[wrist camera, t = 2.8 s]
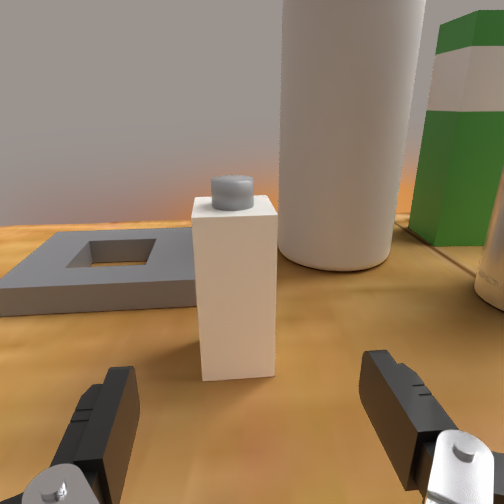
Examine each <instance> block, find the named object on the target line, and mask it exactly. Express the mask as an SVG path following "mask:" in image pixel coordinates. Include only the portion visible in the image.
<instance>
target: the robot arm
mask: <svg viewBox="0 0 504 504" xmlns="http://www.w3.org/2000/svg"><path fill="white" fill-rule="evenodd" d="M474 288H475V291H476V292H477V294H478V295H479V296H480V297H481V298H482V299H484V300H485V301H486V302H488V303H489V304H491V305H493V306H494V307H496V308H498V309H500V310H502V311H504V164H503V168H502V172H501V177H500V181H499V185H498V189H497V193H496V197H495V201H494V206H493V210H492V214H491V218H490V222H489V226H488V230H487V235H486V239H485V243H484V247H483V251H482V255H481V259H480V263H479V267H478V272H477V276H476V280H475V284H474ZM359 394H360V399H361V402H362V405H363V407H364V409H365V411H366V413H367V415H368V417H369V419H370V421H371V423H372V425H373V427H374V429H375V431H376V433H377V435H378V437H379V439H380V441H381V443H382V445H383V447H384V449H385V451H386V453H387V455H388V457H389V459H390V461H391V463H392V465H393V467H394V469H395V471H396V473H397V475H398V477H399V479H400V481H401V483H402V485H403V487H404V489H405V491H411V490H419V491H420V493H421V495H422V497H423V500H422V504H504V454H501V453H496V452H492V451H490V450H489V448H488V447H487V446H486V445H485V444H484V443H483V442H482V441H481V440H479V439H478V438H477V437H475V436H473V435H471V434H469V433H467V432H464V431H460V430H459V429H458V428H457V427H456V425H455V424H454V423H453V421H452V420H451V419H450V417H449V416H448V415H447V413H446V412H445V411H444V409H443V408H442V407H441V405H440V404H439V403H438V401H437V400H436V399H435V397H434V396H432V393H431V392H430V391H429V389H428V388H427V387H426V386H425V384H424V383H423V381H422V380H421V379H420V377H419V376H418V375H417V373H416V372H414V371H413V370H411V369H410V368H409V367H407V366H406V365H405V364H403V363H401V364H397V363H396V362H395V360H394V359H393V358H392V356H391V355H390V353H389V352H388V351H387V350H374V351H365V352H364V353H363V357H362V365H361V372H360V380H359ZM139 414H140V402H139V395H138V388H137V382H136V375H135V369H134V367H133V366H125V367H111V368H109V370H108V372H107V375H106V378H105V380H104V383H103V384H93V385H92V386H91V387H90V388H89V389H88V390H87V391H86V392H85V393H84V394H83V395H82V396H81V398H80V400H79V402H78V405H77V407H76V409H75V412H74V414H73V416H72V418H71V420H70V424H69V425H68V427H67V429H66V432H65V434H64V436H63V438H62V440H61V443H60V445H59V447H58V449H57V452H56V454H55V456H54V458H53V461H52V463H51V465H50V467H49V468H48V469H46V470H44V471H43V472H41V473H40V474H38V475H37V476H36V477H35V478H34V479H33V480H32V481H31V482H30V483H29V485H28V486H27V488H26V489H25V491H24V492H23V493H21V494H19V495H17V496H14V497H12V498H9V499H6V500H4V501H1V502H0V504H119V503H120V499H121V494H122V490H123V486H124V482H125V477H126V473H127V469H128V464H129V460H130V456H131V451H132V447H133V443H134V439H135V434H136V430H137V426H138V421H139Z"/></svg>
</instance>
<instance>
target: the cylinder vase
mask: <svg viewBox="0 0 504 504" xmlns="http://www.w3.org/2000/svg"><path fill="white" fill-rule="evenodd" d="M425 2H426V0H283V12H282V13H283V14H282V15H283V16H282V59H281V61H282V63H281V106H280V107H281V108H280V152H279V153H280V154H279V200H278V248H279V250H280V251H281V253H282V254H283V255H284V256H285V257H287V258H288V259H290V260H291V261H293V262H295V263H298V264H300V265H303V266H306V267H310V268H315V269H320V270H328V271H356V270H363V269H368V268H371V267H374V266H376V265H379V264H380V263H382V262H383V261H384V260H386V258H387V257H388V256H389V253H390V249H391V242H392V235H393V228H394V221H395V214H396V206H397V199H398V192H399V185H400V178H401V171H402V164H403V157H404V150H405V143H406V135H407V129H408V122H409V115H410V107H411V100H412V94H413V87H414V80H415V73H416V65H417V59H418V52H419V44H420V38H421V31H422V23H423V17H424V9H425Z"/></svg>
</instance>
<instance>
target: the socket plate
mask: <svg viewBox="0 0 504 504" xmlns="http://www.w3.org/2000/svg"><path fill="white" fill-rule="evenodd" d="M147 260H148V261H147ZM123 261H147V263H146V265H128V266H105V267H90V266H91V265H92V263H99V262H123ZM190 306H197V295H196V280H195V266H194V251H193V237H192V227H184V228H155V229H127V230H98V231H69V232H57V233H55V234H54V235H53V236H52V237H51V238H49V239H48V240H47V241H46V242H45V243H43V244H42V245H41V246H40V247H39V248H37V249H36V250H35V251H34V252H33V253H31V254H30V255H29V256H28V257H26V258H25V259H24V260H23V261H22V262H20V263H19V264H18V265H17V266H16V267H14V268H13V269H12V270H11V271H10V272H8V273H7V274H6V275H5V276H4V277H2V278H1V279H0V317H1V316H20V315H39V314H57V313H76V312H95V311H114V310H133V309H152V308H171V307H190Z"/></svg>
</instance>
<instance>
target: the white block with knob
mask: <svg viewBox="0 0 504 504" xmlns="http://www.w3.org/2000/svg"><path fill="white" fill-rule="evenodd" d="M191 222H192V237H193V251H194V266H195V280H196V295H197V309H198V324H199V338H200V353H201V367H202V381H216V380H230V379H244V378H258V377H272V376H275V334H276V285H277V237H278V214H277V213H276V211H275V209H274V207H273V205H272V204H271V202H270V200H269V199H268V197H267V195H259V196H254V179H253V178H252V177H248V176H240V175H229V176H218V177H214V178H212V179H211V197H195V201H194V206H193V211H192V216H191Z"/></svg>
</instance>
